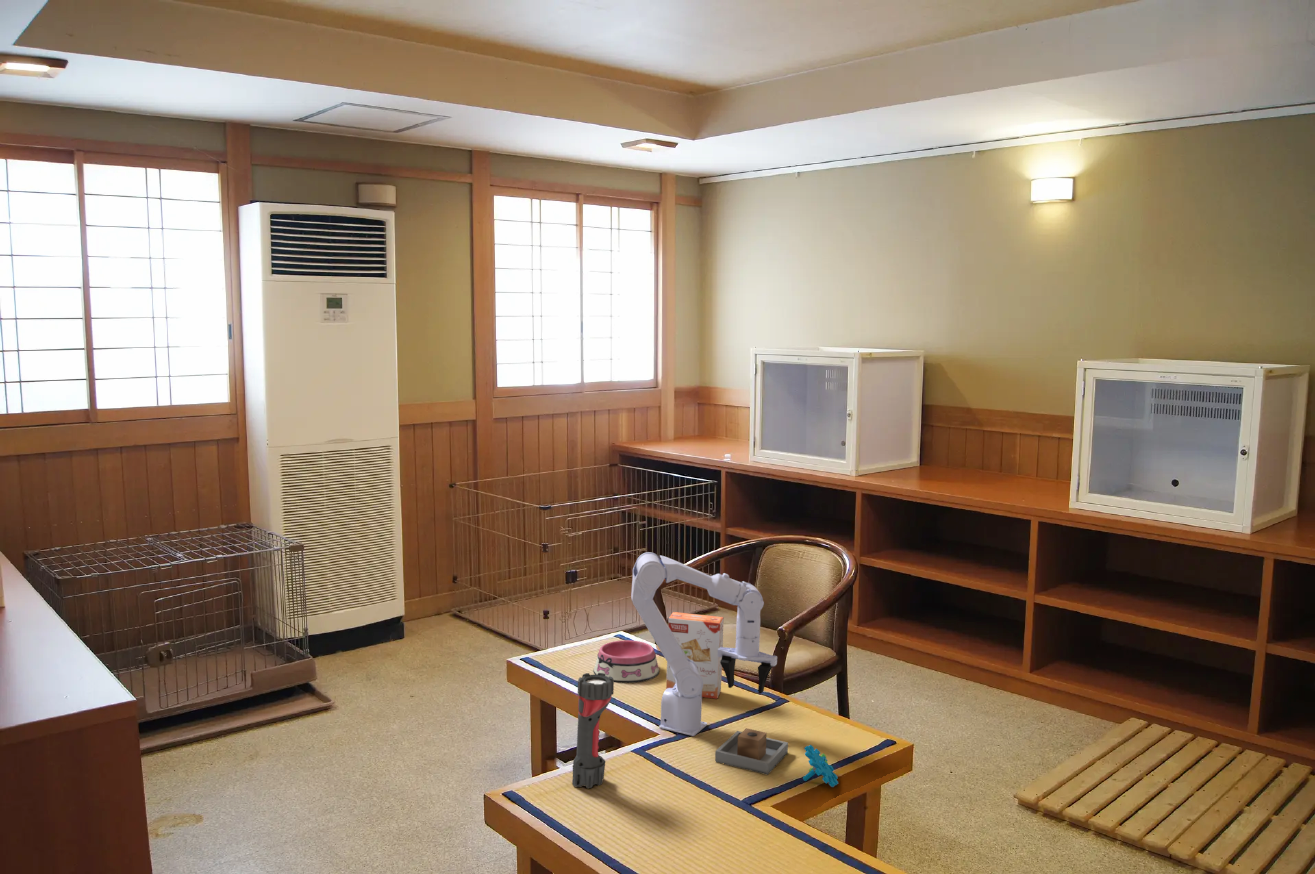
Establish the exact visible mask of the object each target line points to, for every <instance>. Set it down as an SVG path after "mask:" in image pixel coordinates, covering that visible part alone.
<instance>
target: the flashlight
mask: <svg viewBox="0 0 1315 874" xmlns="http://www.w3.org/2000/svg"><path fill="white" fill-rule="evenodd" d="M614 685H615V682H614V679H613V677H611V676H610V677H607V676H605V674H604V673H598V674H597V675H595V674H590V672H587V673H583V674H582V675H581V677H579V678H578V680H577V696H578V701H577V702H578V704H577V710H578V713H577V714H578V715H577V731H576V732H577V734H576V735H577V736H576V756H575V757H574V759H573V763H572V782H571V783H572V786H573V787H574V788H581V787H583V786H584V787H586V789H592V788H593V786H595V785H596V786H601V785H602V784H603V782H604V781H603V780H604V778H605V770H606V769H605V767H606V760H605V759H604V758H603V757H602V756H601V755H600V754H599V749H600V746H599V742H600V737H599V736H600V732H601V731H600V730H599V729H600V719H601V715H602V714H603V712H604V711H605V710H606V709H607V707H608V705H610V702H611V699H612V695H614V691H615V690H614V688H615V686H614Z"/></svg>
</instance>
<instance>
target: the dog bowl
mask: <svg viewBox="0 0 1315 874" xmlns="http://www.w3.org/2000/svg"><path fill="white" fill-rule="evenodd" d="M592 672H593V675H597V674H598V673H604V674H605V676H607V677H610V676H611V677H613V679H614V683H620V684H634V683H635V684H636V683H644V682H646V681H650V680H653V679H654V678H656V677H657V676H659V673H660V668H659V664H658V659H657V655H656V652H655V649H654V647H653V646H652V645H650V644H649V643H647V642H643V641H640V640H630V639H629V640H627V639H625V640H623V639H621V640H615V641H610V642H606V643H604V644H603V645H600V648H599V650H598V653H597V657H596V662H595V665H594V666H593V671H592Z"/></svg>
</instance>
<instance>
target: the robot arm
mask: <svg viewBox="0 0 1315 874" xmlns="http://www.w3.org/2000/svg"><path fill="white" fill-rule="evenodd" d="M664 580H665V583H666V584H669V583H670V582H673V581H676V580H680V581H682V582H685V583H687V584H689V585H693V586H697V587H700V588H703V589H706V590H707V593H708V596H709V597H711V598H714V599H716V600H719V601H722V602H723V603H727V604H729V605H731V606H737V611H736V612H737V614H736V623H735V625H736V628H735V629H736V630H735V633H736V634H735V647H724V646H723V647H720V648H719V649H718V657H722V660H720V663H721V665H722V670H723V671H724V674H725V676H726V677H725V678H726V680H727V688H729V689H731V688H733V686H734V685H735V668H736V661H737V660H739V661H744V662H745V661H746V662H753V663H759V666H757V672H758V688H757V693H758V694H762V693H763V692H764V690H765V685H766V682H767V680H768V677H769V674H770V673H771V670H772V668H773V667H776V666H777V664H778V656H777V655H773V654H769V653H765V652H763V651H760V639H761V611H762V609H763V608H764V605H765V602H764V598H763V596H762V594H761V592H760V591H759V590H758V588H757V587H756V586H755V585H753V584H751V582H746V581H744V580H743V581H738V580H735V579H732V577H731V578H730V575H729V574H728V573H725V572H724V573H722V574H721V573H716V574H713V575H709V574H707V573H705V572H702V571H700V570H697V569H696V568H693V567H691V566H688V565H687V564H684V563H682V562H680V561H677V560H675V559H672V558H670V557H667V556H664V555H657V554H656V553H654V552H649V551H647V552H644V553H642V554H640V555H639V556H638V558H637V559H636V561H635V563H634V565H633V568H632V581H631V595H630V597H631V602H632V605H633V606H634V608H635V610H636V611H637V613H638V615H639V616H640V618H641V620H642V622H643V623H644V625H645V627H646V628H647V630H648V632H649V633H650V635H651V636H652V637H651V638H653V640H654V642H655V643H656V645H657V647H658V649H659V650H660V652H661V654H662V656H663V657H664V659H665V660H666V663H667V662H668V664H669V666H670V668H671V670H672V672H673V677H674V679H675V681H676V683H675V685H674V687H673V688H667V689H666V688H665V690H664V692H663V693H662V696H661V703H660V704H661V705H660V725H658V726H659V727H658V728H660V729H663V730H666V731H671V732H673V733H674V732H675V733H679V734H683V735H687V736H691V737H692V736H693V737H695V736H696V735H697V734H698V733H700V732H701V731H702V730H703V729H704V728H705V727H707V726H708V722H706V721H702V709H703V708H702V706H703V705H702V704H703V697H702V688H703V680H702V678H701V676H700V674H699V672H698V668H697V665H696V664H695V663H694V662H693V661H691V660H690V659H689V658H688V657H687V656H686V654H685V653H684V651H683V650H682V649H681V647H680V645H679V643H678V642H677V640H676V638H675V637H674V635H673V633H672V631H671V630H670V628H669V626H668V623H667V621H666V620H665V617H664V616H663V615H662V614H663V613H661V611H660V610H659V608H658V606H657V604H656V603H655V600H654V597H655V595H656V592H657V589H659V587H660V586H661V585H662V584H663V582H664Z"/></svg>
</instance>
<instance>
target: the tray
mask: <svg viewBox="0 0 1315 874" xmlns="http://www.w3.org/2000/svg"><path fill="white" fill-rule="evenodd" d="M742 732H743V731H740V730H737V731H736V732H734V733H733V734H732V735H731V736H730V737H728V739H726V741H725V742H724V743H722V744H721V745H720V746H719V747H718V748H717V749H716V750H715V754H714V757H715V758H714V762H715V761H716V763H718V762H719V764H722V763H724V764H723V765H727V766H731V767H734V768H739V769H742V770H746V771H749V772H750V771H751V772H755V773H757V774H763V775H766V776H768V775H769V774H770V773H771V772H772V771H773V770H774V768H776V767H777V765H778V764H779V763H780V762H781V761H782V760H783V759H784V758H785V757H786V755H787V754H788V752H789V742H786V741H784V740H783V741H782V740H779V739H774V738H769V737H766V754H765V755H764V756H763V757H762V758H761V760H757V759H753V758H749V757H744V756H740V755H737V747H738V736H739V735H740V734H741V733H742Z"/></svg>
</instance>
